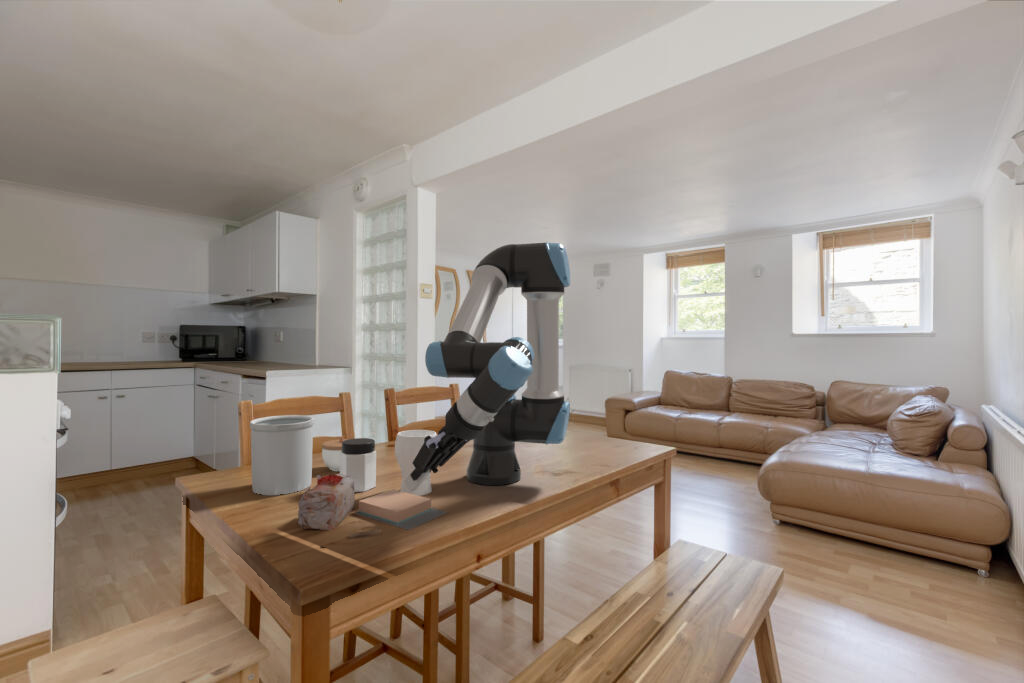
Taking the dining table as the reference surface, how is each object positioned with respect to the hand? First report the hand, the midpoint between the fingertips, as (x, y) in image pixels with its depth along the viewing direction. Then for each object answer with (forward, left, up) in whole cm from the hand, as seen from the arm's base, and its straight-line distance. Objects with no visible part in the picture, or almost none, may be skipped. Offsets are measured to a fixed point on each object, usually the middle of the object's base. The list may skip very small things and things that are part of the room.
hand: (409, 485), depth 100 cm
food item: (+16, -5, -7) cm, 18 cm away
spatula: (+12, +7, -7) cm, 16 cm away
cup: (-5, -17, -7) cm, 19 cm away
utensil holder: (+26, -34, -7) cm, 43 cm away
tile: (-1, +1, -5) cm, 5 cm away
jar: (+8, -27, -7) cm, 29 cm away
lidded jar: (+11, -48, -7) cm, 50 cm away
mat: (+1, -3, -7) cm, 8 cm away
